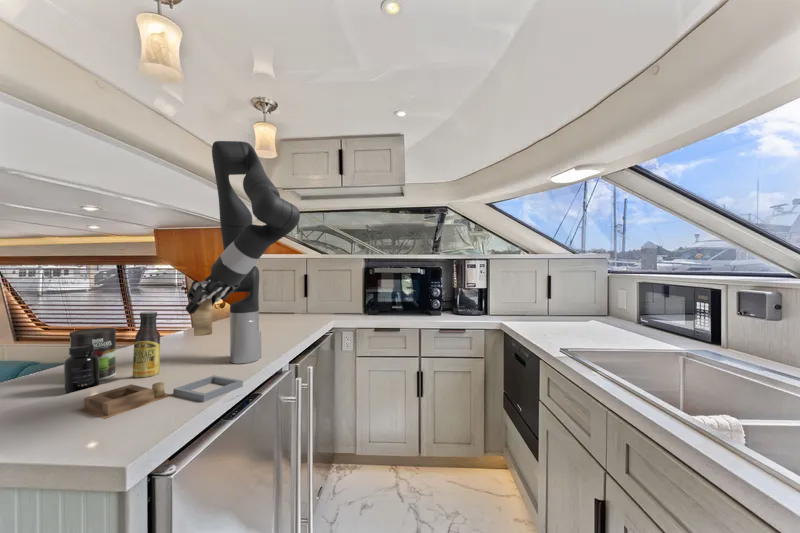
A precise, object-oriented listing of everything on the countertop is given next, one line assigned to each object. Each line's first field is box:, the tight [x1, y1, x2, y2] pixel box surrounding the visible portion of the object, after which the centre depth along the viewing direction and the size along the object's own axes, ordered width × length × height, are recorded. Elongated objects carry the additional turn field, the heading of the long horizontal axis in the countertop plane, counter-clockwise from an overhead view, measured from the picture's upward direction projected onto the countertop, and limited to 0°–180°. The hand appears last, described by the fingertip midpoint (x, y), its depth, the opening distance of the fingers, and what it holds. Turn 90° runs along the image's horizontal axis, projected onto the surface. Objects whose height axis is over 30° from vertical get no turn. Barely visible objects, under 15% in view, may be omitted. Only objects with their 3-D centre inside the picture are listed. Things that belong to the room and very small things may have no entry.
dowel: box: [193, 290, 213, 337], centre depth 85 cm, size 4×4×13 cm
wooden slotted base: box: [77, 381, 173, 420], centre depth 79 cm, size 14×11×4 cm
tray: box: [172, 375, 244, 403], centre depth 86 cm, size 11×11×3 cm
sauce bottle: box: [132, 310, 161, 379], centre depth 99 cm, size 6×6×20 cm
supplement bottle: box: [63, 344, 100, 395], centre depth 90 cm, size 7×7×12 cm
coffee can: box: [69, 327, 117, 382], centre depth 101 cm, size 10×10×14 cm
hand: (196, 310), depth 86 cm, fingers closed on dowel, 4 cm apart
